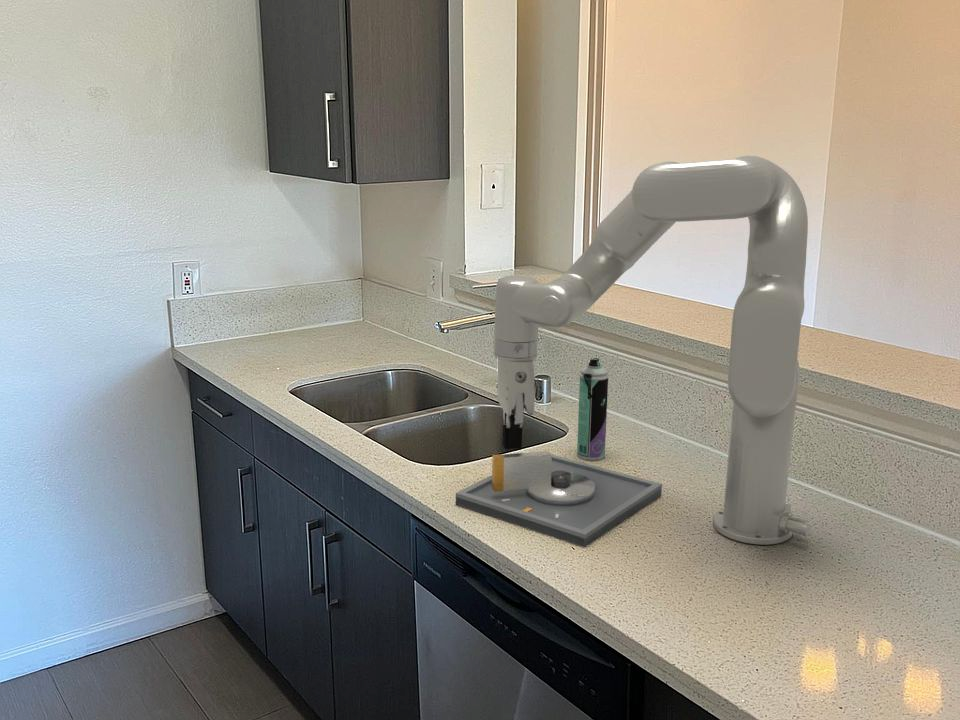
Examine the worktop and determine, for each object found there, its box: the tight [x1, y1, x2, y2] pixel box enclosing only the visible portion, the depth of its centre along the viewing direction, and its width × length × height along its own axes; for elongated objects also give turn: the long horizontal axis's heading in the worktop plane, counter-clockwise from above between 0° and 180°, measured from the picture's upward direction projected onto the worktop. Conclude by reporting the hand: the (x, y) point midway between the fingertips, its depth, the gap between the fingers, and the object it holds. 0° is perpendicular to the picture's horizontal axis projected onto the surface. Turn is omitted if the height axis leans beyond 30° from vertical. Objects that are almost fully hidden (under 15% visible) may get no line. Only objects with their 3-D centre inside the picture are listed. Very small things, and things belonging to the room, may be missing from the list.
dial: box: [491, 450, 595, 506], centre depth 159 cm, size 18×12×8 cm, turn 103°
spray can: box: [576, 357, 609, 462], centre depth 180 cm, size 6×6×20 cm
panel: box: [455, 451, 663, 548], centre depth 161 cm, size 26×26×2 cm
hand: (511, 446), depth 164 cm, fingers closed
